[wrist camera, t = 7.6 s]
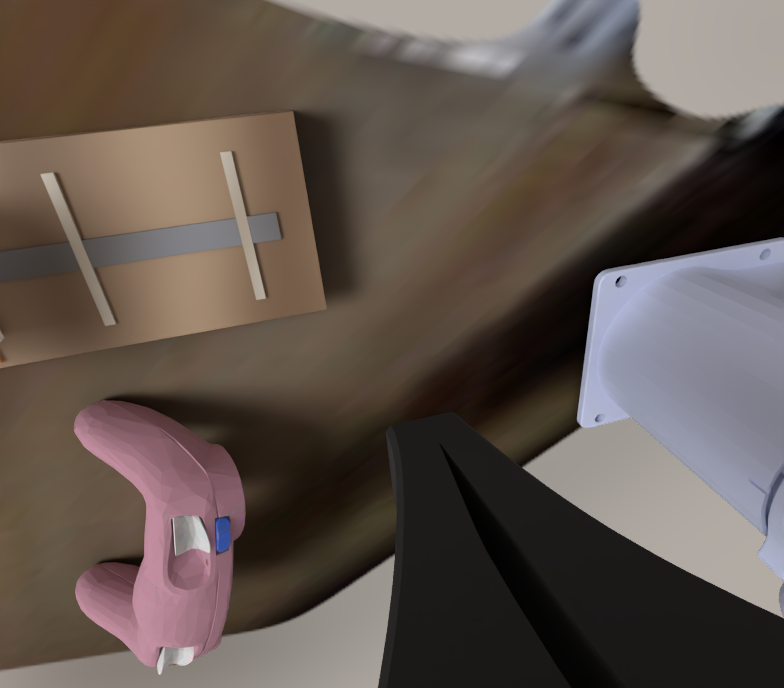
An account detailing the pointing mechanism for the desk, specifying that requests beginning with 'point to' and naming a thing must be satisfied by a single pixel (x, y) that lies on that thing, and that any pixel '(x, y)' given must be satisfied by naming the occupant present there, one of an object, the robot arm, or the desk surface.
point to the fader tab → (1, 336)
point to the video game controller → (165, 535)
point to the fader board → (152, 234)
